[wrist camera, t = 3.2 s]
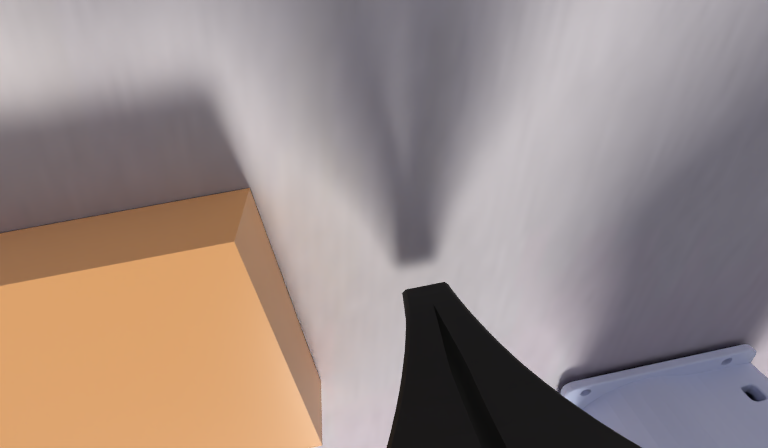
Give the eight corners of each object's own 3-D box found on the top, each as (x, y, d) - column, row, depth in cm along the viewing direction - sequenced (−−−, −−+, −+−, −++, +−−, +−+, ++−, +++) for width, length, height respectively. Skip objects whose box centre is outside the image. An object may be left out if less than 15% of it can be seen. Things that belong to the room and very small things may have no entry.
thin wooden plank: (249, 187, 11) (234, 241, 9) (321, 382, 16) (322, 445, 14) (-262, 281, 10) (-414, 363, 8) (-14, 452, 15) (-66, 530, 13)
